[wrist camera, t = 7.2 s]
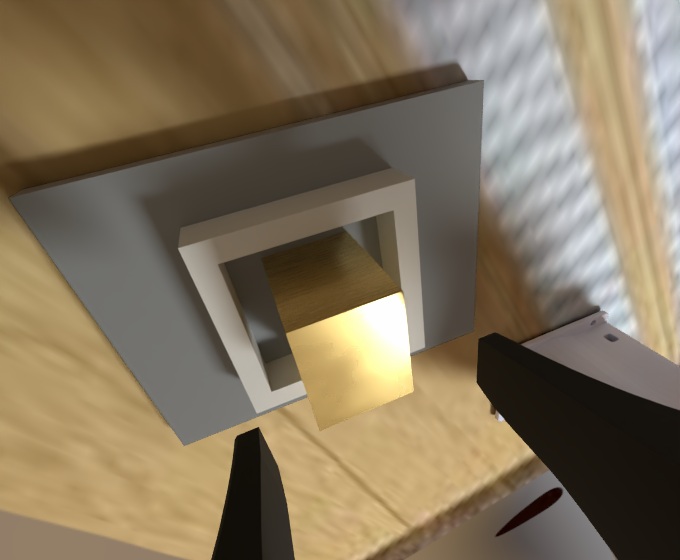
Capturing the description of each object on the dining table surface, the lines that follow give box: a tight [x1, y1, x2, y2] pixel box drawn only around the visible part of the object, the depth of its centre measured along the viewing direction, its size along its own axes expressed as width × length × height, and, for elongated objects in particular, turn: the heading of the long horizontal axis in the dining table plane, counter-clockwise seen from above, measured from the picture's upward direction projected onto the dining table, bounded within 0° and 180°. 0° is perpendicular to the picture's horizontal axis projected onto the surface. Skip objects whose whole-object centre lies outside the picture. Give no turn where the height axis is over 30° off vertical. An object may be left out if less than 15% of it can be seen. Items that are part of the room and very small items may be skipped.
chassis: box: [8, 80, 484, 446], centre depth 17 cm, size 18×14×3 cm
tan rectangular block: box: [261, 231, 414, 431], centre depth 15 cm, size 4×5×6 cm
